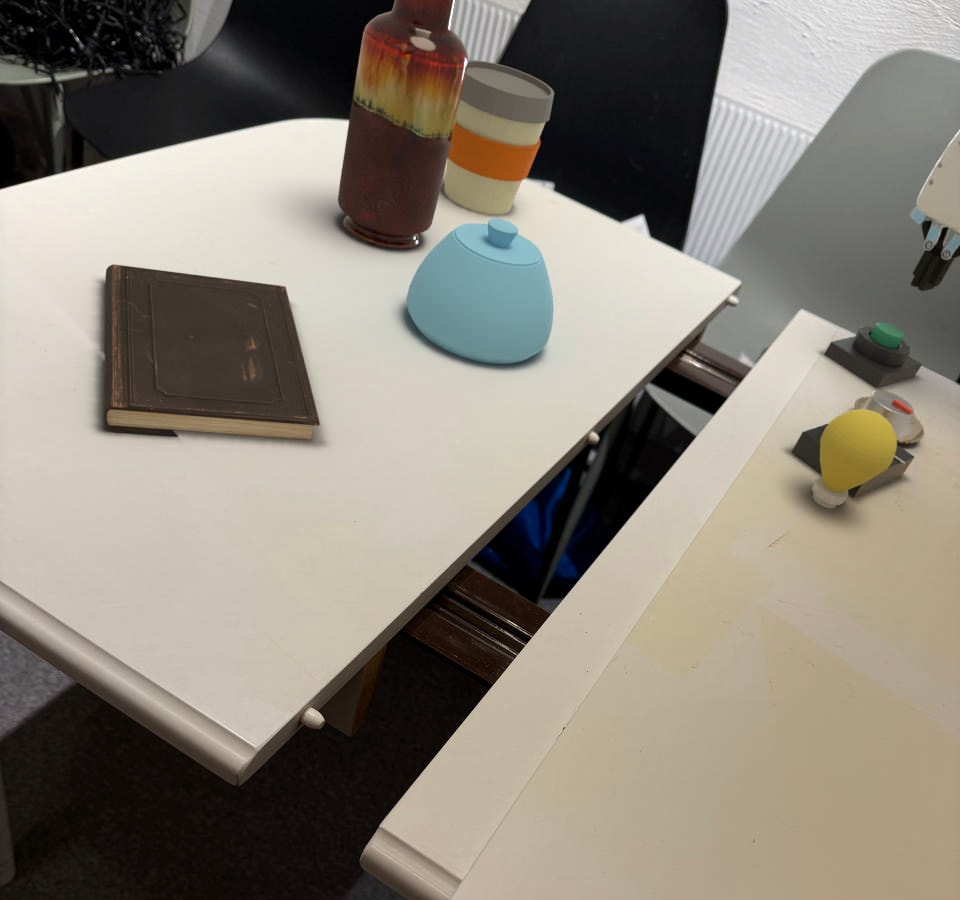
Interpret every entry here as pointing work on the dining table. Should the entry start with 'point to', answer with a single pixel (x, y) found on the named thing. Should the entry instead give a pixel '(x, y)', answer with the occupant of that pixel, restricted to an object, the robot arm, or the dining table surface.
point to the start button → (887, 335)
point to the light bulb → (852, 454)
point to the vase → (401, 122)
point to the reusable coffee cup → (495, 136)
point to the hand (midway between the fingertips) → (921, 286)
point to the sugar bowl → (484, 294)
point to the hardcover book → (202, 356)
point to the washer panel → (810, 454)
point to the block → (873, 359)
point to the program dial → (890, 409)
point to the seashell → (910, 431)
